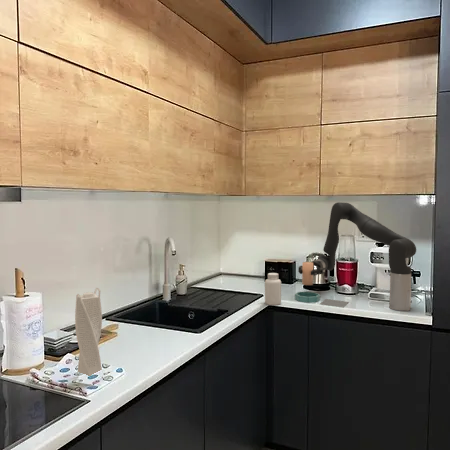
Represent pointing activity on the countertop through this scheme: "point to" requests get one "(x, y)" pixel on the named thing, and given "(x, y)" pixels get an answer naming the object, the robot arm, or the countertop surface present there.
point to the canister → (307, 273)
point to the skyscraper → (88, 331)
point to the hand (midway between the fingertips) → (306, 272)
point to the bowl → (307, 297)
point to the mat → (334, 303)
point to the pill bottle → (273, 289)
